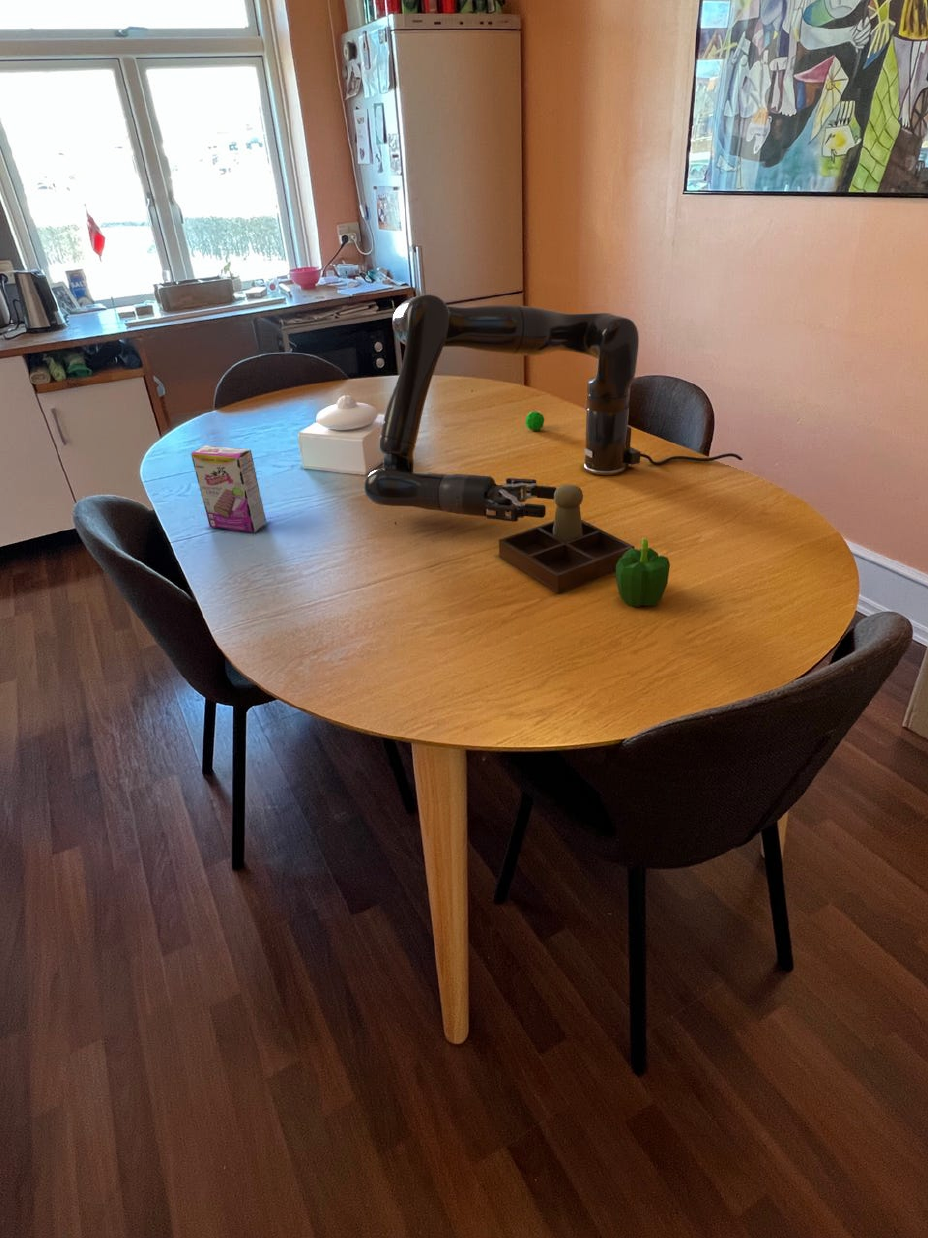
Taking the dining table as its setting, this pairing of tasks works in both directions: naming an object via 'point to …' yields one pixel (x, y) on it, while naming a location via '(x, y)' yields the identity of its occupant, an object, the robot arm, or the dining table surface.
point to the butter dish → (343, 438)
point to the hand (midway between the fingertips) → (550, 502)
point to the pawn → (568, 512)
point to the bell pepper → (642, 576)
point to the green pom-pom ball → (534, 420)
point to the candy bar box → (229, 488)
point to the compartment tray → (563, 555)
